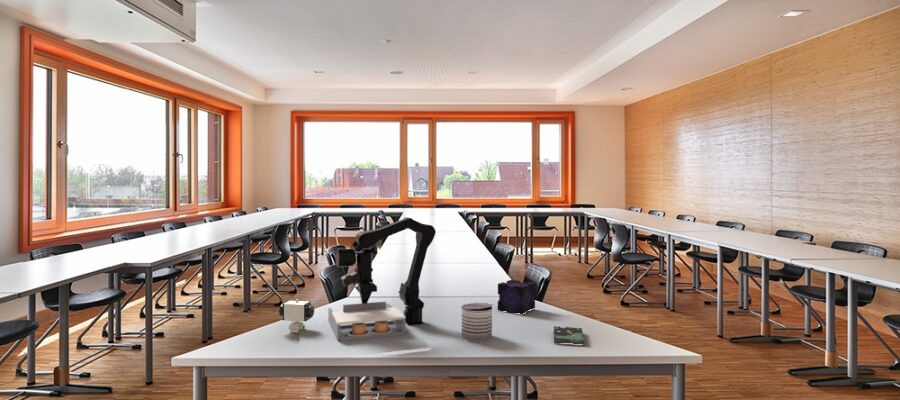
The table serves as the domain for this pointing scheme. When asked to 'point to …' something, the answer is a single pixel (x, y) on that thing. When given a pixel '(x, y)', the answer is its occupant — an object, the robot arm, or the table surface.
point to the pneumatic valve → (296, 313)
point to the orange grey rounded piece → (381, 326)
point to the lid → (366, 313)
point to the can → (477, 322)
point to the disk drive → (568, 335)
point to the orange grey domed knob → (358, 328)
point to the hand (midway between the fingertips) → (364, 306)
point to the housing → (346, 330)
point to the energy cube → (516, 296)
